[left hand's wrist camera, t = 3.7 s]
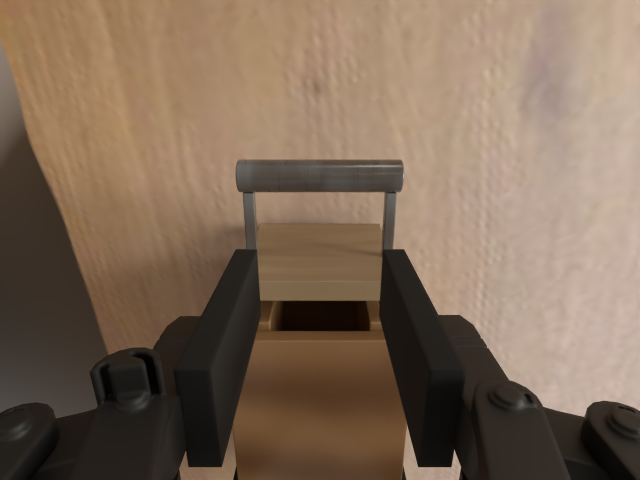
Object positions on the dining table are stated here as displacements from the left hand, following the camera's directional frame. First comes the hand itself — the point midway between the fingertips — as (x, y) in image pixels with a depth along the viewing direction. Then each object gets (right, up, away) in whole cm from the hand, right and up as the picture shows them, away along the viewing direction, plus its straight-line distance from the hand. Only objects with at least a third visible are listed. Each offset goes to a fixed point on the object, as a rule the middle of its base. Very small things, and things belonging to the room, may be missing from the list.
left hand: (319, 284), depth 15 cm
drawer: (0, -2, +17) cm, 17 cm away
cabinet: (0, -8, +20) cm, 22 cm away
